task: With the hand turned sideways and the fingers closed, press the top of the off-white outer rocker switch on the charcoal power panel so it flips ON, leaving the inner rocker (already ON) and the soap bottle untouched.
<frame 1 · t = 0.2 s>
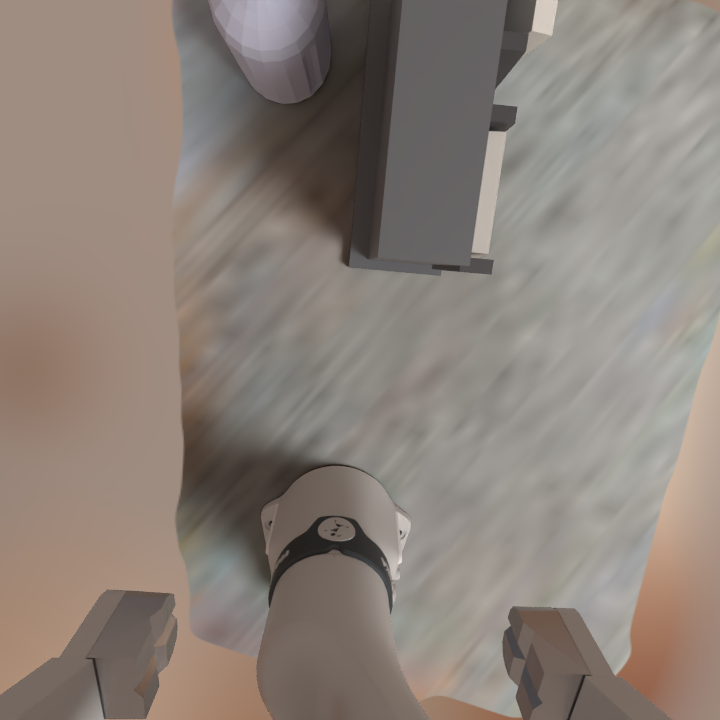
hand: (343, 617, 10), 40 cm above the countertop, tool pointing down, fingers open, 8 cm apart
soap bottle: (286, 56, 43), on the countertop
outer rocker: (510, 4, 31), point 12 cm above the countertop, hinge at 12.0°
inner rocker: (481, 204, 34), point 12 cm above the countertop, hinge at -12.0°
power panel: (407, 144, 44), on the countertop
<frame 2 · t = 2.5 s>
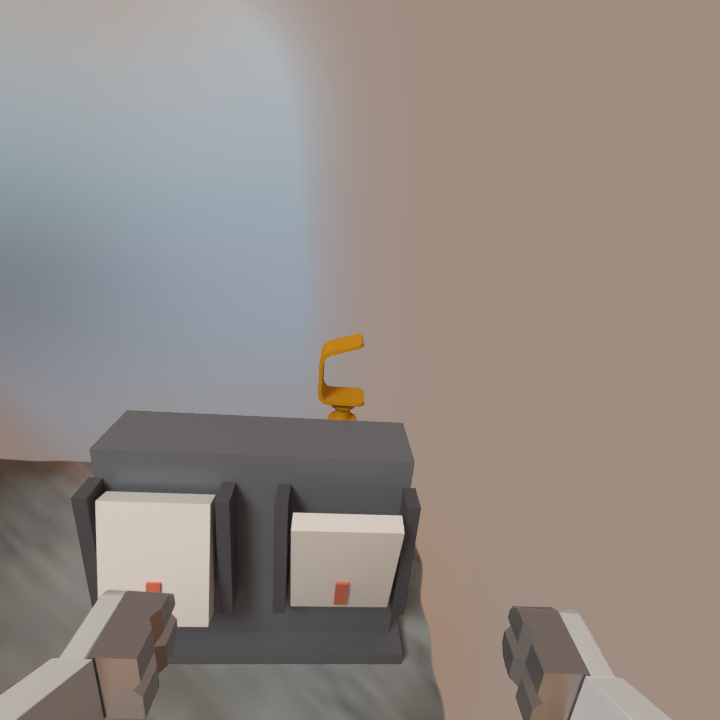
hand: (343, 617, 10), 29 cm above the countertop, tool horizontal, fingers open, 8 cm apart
soap bottle: (334, 521, 54), on the countertop
outer rocker: (343, 564, 33), point 12 cm above the countertop, hinge at 12.0°
inner rocker: (157, 560, 32), point 12 cm above the countertop, hinge at -12.0°
power panel: (262, 611, 42), on the countertop
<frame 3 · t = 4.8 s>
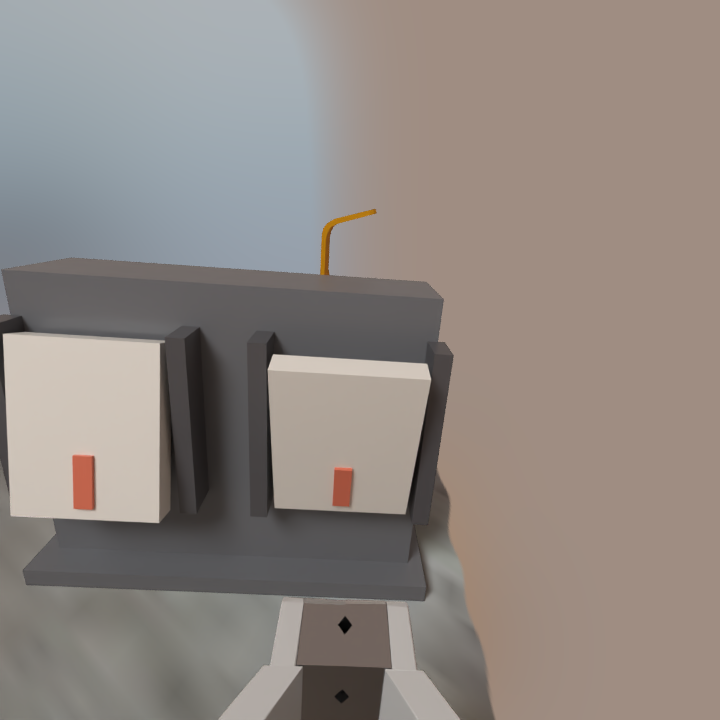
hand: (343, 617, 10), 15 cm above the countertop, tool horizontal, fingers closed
soap bottle: (341, 453, 45), on the countertop
outer rocker: (345, 442, 24), point 12 cm above the countertop, hinge at 12.0°
inner rocker: (91, 428, 23), point 12 cm above the countertop, hinge at -12.0°
power panel: (246, 537, 33), on the countertop
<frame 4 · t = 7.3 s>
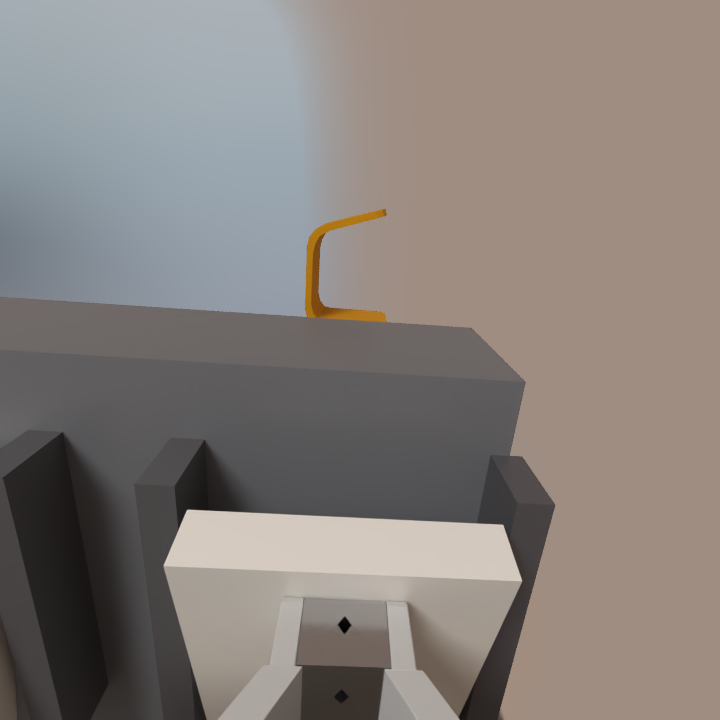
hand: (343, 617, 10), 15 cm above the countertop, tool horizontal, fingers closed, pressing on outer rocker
soap bottle: (337, 534, 34), on the countertop
outer rocker: (337, 652, 13), point 12 cm above the countertop, hinge at 12.0°, touching gripper
power panel: (189, 711, 21), on the countertop
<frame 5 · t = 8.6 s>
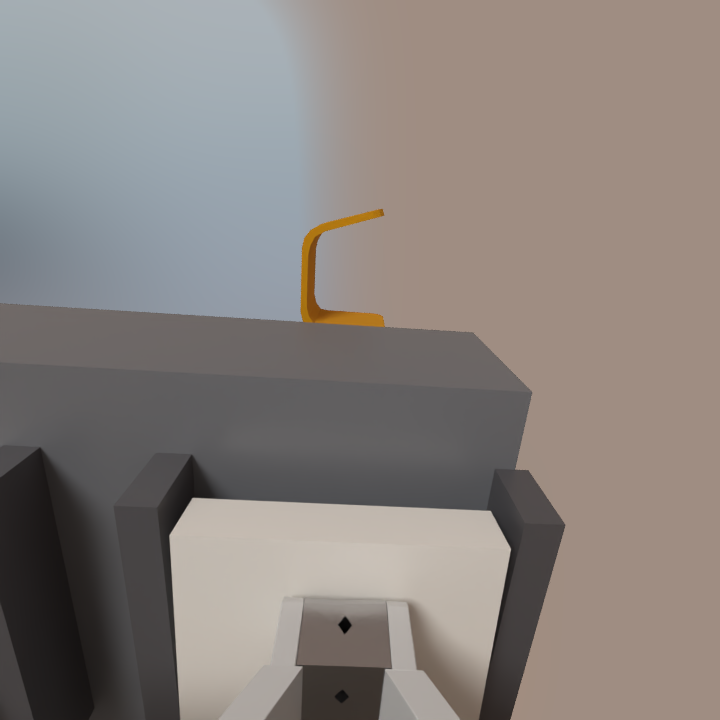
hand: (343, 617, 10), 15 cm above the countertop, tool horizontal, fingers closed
soap bottle: (334, 541, 33), on the countertop
outer rocker: (333, 678, 12), point 12 cm above the countertop, hinge at -4.3°
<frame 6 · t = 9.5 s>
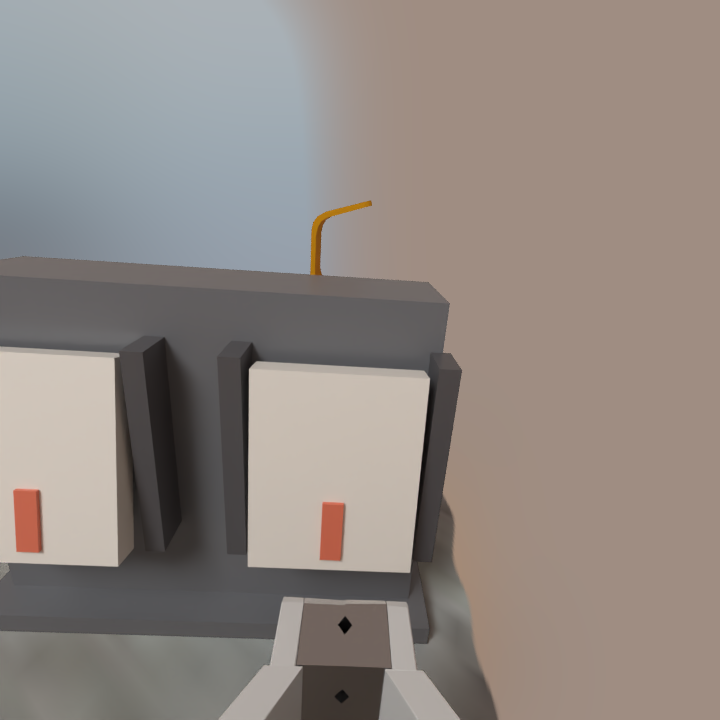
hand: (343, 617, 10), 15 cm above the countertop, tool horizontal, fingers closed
soap bottle: (336, 466, 42), on the countertop
outer rocker: (335, 470, 20), point 12 cm above the countertop, hinge at -7.3°
inner rocker: (36, 456, 20), point 12 cm above the countertop, hinge at -12.0°
power panel: (228, 567, 29), on the countertop
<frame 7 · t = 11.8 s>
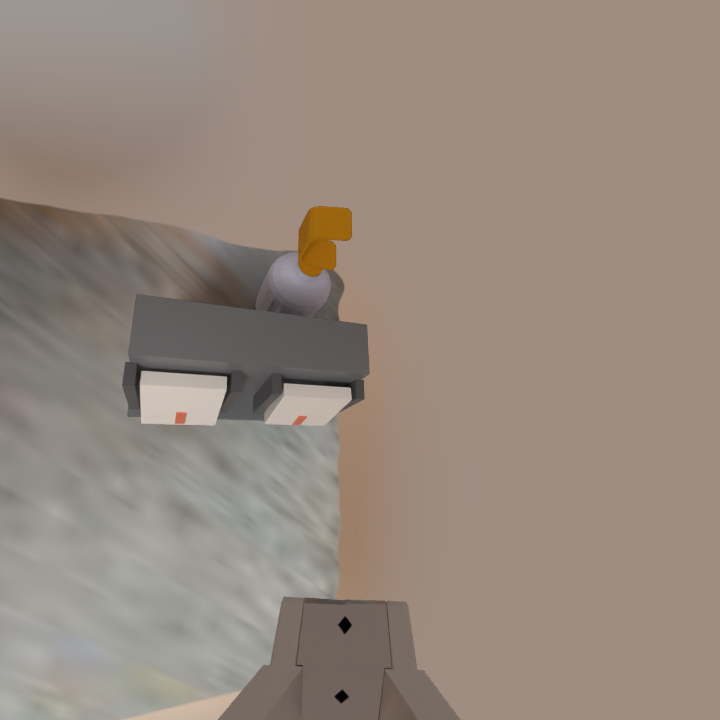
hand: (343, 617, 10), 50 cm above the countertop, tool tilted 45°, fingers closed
soap bottle: (282, 309, 68), on the countertop
outer rocker: (305, 407, 52), point 12 cm above the countertop, hinge at -8.0°
inner rocker: (182, 401, 46), point 12 cm above the countertop, hinge at -12.0°
power panel: (234, 385, 61), on the countertop
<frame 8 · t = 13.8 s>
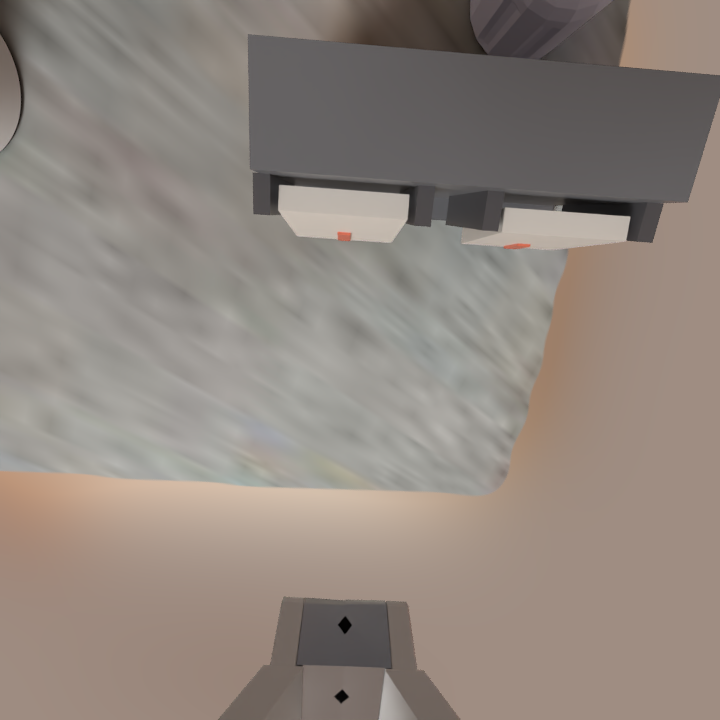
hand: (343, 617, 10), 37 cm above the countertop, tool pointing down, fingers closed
soap bottle: (519, 7, 37), on the countertop
outer rocker: (532, 233, 32), point 12 cm above the countertop, hinge at -8.0°
inner rocker: (344, 220, 31), point 12 cm above the countertop, hinge at -12.0°
power panel: (422, 163, 41), on the countertop
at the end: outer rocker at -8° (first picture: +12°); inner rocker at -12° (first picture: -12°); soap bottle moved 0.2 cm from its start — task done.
